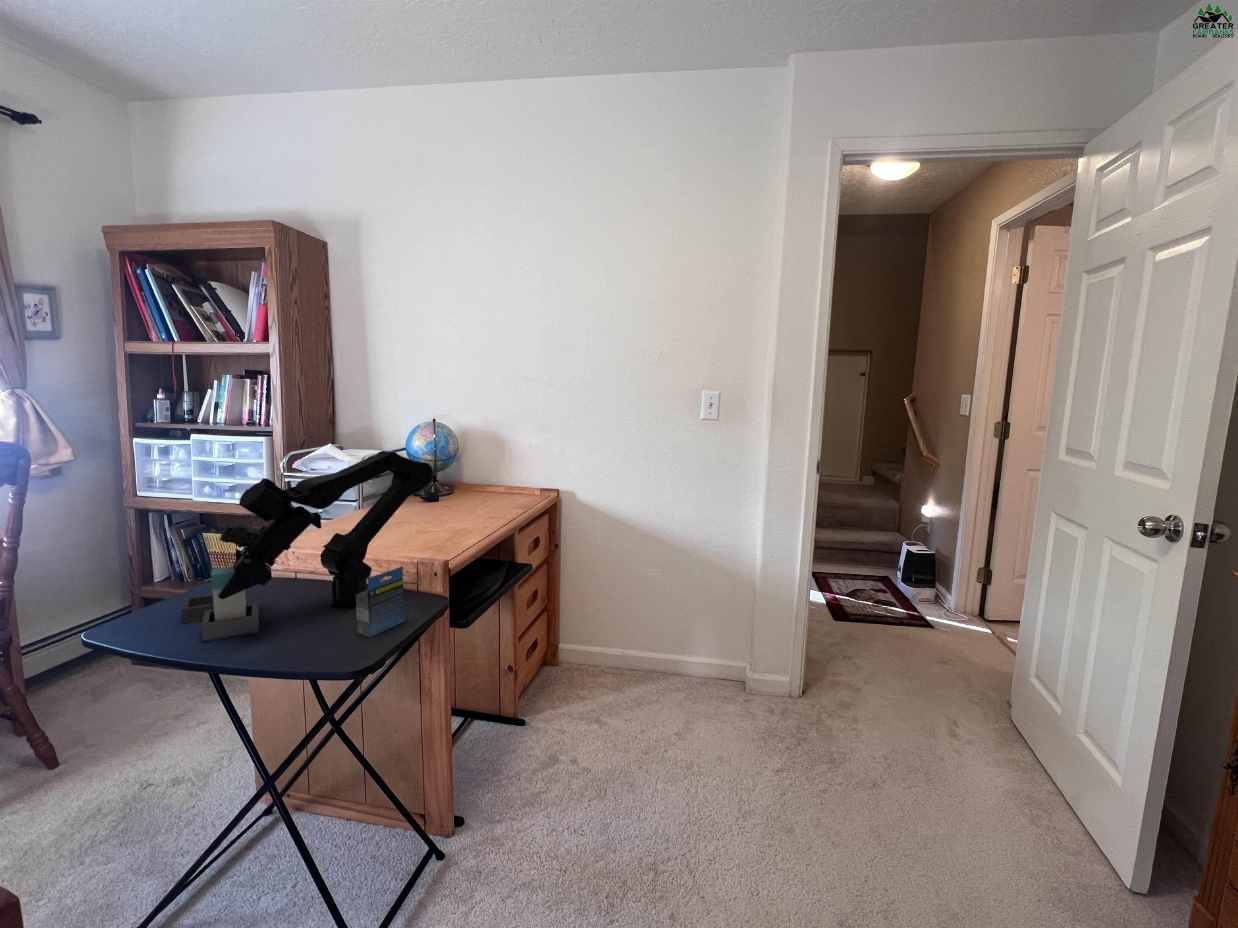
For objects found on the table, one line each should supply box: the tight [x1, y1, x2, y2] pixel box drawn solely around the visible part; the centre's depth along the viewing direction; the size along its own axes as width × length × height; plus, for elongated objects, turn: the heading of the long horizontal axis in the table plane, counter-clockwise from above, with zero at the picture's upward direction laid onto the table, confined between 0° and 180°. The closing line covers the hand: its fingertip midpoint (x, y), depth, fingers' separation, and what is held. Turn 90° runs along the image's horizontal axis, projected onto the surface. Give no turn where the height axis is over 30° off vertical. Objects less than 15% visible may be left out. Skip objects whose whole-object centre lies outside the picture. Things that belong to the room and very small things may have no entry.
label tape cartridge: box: [355, 566, 406, 638], centre depth 118 cm, size 9×4×12 cm, turn 152°
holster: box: [181, 593, 214, 624], centre depth 123 cm, size 8×7×3 cm
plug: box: [210, 566, 247, 621], centre depth 115 cm, size 5×4×12 cm
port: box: [201, 602, 260, 644], centre depth 115 cm, size 9×8×4 cm
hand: (220, 592), depth 114 cm, fingers open, 6 cm apart
